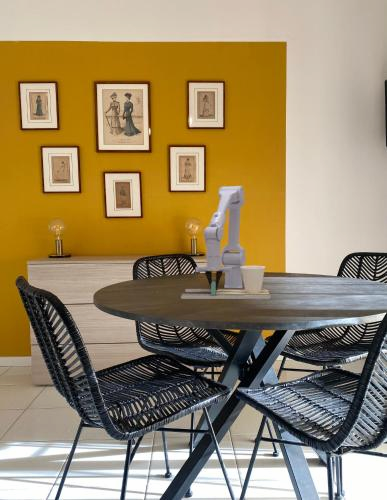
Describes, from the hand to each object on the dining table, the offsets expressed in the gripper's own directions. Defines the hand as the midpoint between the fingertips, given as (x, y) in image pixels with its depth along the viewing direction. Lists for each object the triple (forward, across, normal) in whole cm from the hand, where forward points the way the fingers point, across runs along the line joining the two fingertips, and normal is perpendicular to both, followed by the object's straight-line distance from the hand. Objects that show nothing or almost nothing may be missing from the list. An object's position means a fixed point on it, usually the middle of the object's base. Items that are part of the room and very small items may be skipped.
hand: (213, 289), depth 202 cm
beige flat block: (+2, +11, 0) cm, 11 cm away
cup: (+2, +16, 0) cm, 16 cm away
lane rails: (+2, +5, -2) cm, 6 cm away
